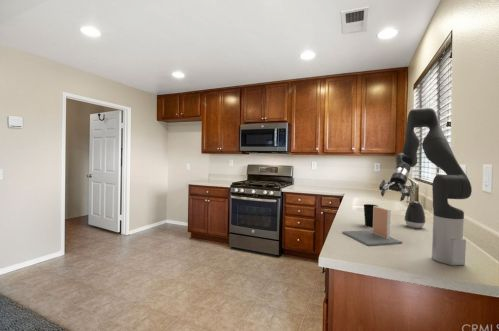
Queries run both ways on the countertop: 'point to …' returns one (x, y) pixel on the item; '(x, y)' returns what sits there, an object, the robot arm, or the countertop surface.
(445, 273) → the countertop surface
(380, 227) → the tile
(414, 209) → the pump dispenser
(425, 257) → the countertop surface
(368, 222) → the cup
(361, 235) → the mat
